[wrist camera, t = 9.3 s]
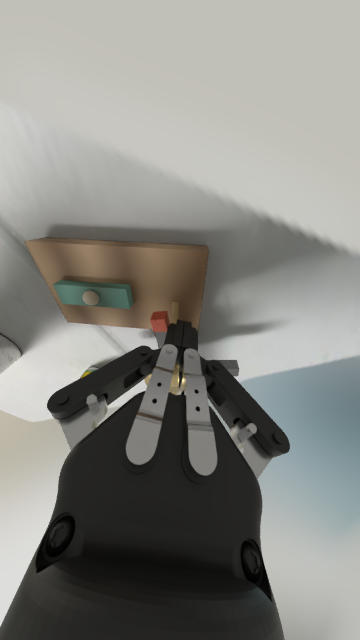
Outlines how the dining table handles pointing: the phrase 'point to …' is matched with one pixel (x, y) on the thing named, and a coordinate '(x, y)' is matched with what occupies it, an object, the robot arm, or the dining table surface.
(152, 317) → the capstan
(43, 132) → the dining table surface
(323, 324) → the dining table surface
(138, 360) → the robot arm
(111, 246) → the stand
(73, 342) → the dining table surface
